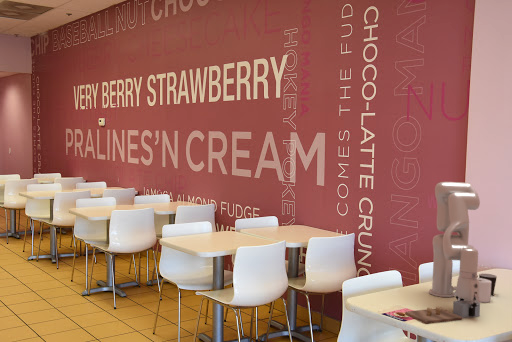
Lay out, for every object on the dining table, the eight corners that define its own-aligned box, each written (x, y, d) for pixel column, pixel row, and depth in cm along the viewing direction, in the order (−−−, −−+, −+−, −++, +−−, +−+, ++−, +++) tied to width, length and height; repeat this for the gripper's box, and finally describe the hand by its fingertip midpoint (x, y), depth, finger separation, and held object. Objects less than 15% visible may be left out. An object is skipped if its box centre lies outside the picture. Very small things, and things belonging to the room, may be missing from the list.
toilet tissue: (487, 297, 272) (488, 278, 272) (493, 304, 260) (494, 284, 260) (466, 295, 274) (467, 276, 274) (470, 302, 263) (471, 282, 262)
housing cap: (469, 312, 246) (470, 299, 245) (479, 316, 240) (480, 303, 240) (452, 314, 242) (453, 301, 242) (462, 318, 236) (463, 305, 236)
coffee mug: (496, 297, 274) (497, 278, 274) (478, 295, 277) (479, 276, 276) (494, 291, 285) (495, 273, 285) (477, 289, 288) (478, 271, 287)
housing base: (440, 310, 247) (440, 301, 246) (462, 319, 234) (462, 310, 233) (405, 314, 239) (405, 305, 239) (425, 324, 226) (426, 314, 226)
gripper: (489, 279, 234) (487, 319, 234) (460, 270, 250) (458, 307, 250) (476, 280, 231) (474, 320, 231) (448, 271, 247) (446, 309, 247)
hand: (466, 313), depth 241 cm, fingers closed on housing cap, 6 cm apart
